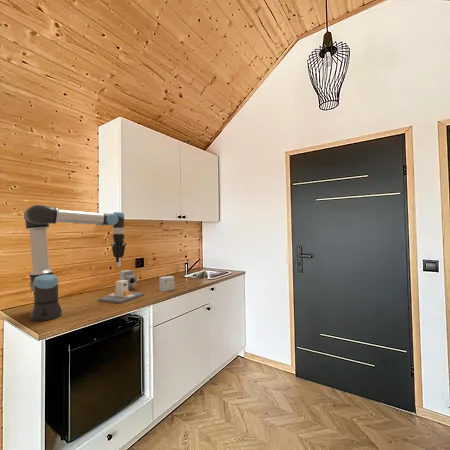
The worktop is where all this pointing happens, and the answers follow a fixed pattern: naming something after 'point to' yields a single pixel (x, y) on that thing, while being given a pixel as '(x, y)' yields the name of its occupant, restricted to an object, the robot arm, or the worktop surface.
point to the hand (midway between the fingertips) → (118, 266)
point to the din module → (121, 287)
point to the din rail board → (121, 297)
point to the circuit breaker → (128, 278)
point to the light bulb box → (166, 283)
